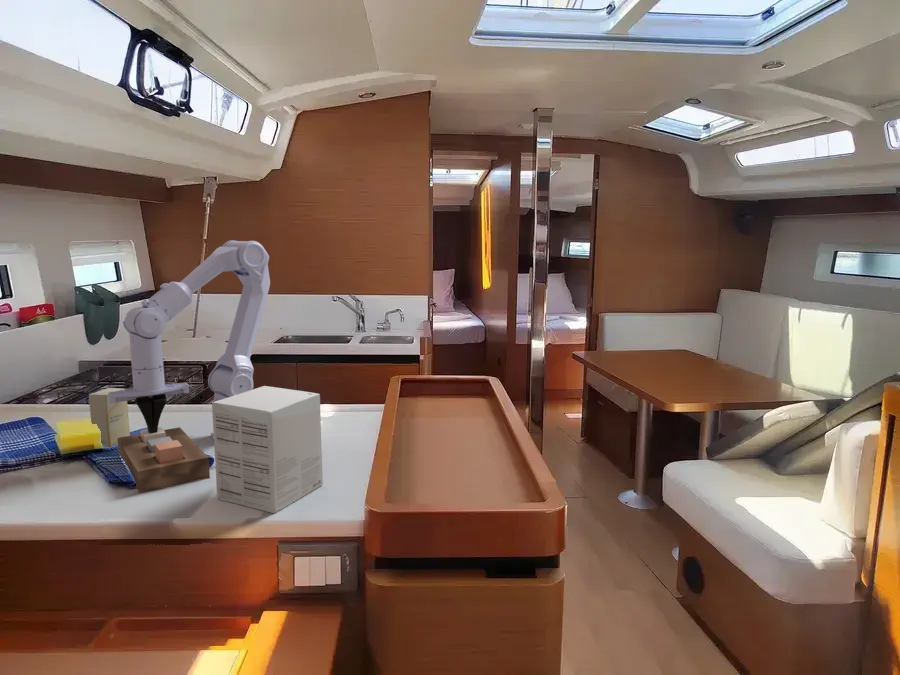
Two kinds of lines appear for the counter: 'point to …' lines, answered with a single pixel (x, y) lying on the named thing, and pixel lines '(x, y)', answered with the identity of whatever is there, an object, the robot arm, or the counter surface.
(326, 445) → the counter surface
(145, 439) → the key ivory
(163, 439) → the key slate
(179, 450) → the key terracotta
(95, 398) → the skincare box
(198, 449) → the console
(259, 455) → the supplement box
